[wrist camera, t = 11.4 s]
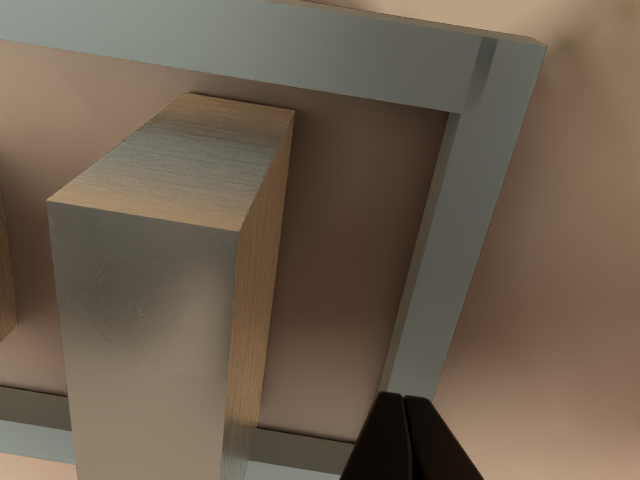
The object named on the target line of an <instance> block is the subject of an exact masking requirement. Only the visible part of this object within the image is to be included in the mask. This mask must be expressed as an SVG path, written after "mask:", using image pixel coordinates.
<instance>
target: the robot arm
mask: <svg viewBox="0 0 640 480" xmlns="http://www.w3.org/2000/svg"><path fill="white" fill-rule="evenodd" d="M339 480H484V478H483V477H482V475H481V474H480V473H479V471H478V470H477V468H476V467H475V465H474V464H473V462H472V461H471V459H470V458H469V457H468V455H467V454H466V452H465V451H464V449H463V448H462V446H461V445H460V443H459V442H458V441H457V439H456V438H455V436H454V435H453V433H452V432H451V430H450V429H449V427H448V426H447V425H446V423H445V422H444V420H443V419H442V417H441V416H440V414H439V413H438V411H437V410H436V409H435V407H434V406H433V404H432V403H431V401H430V400H429V399H427V398H425V397H419V396H413V395H405V396H404V397H403V396H402V395H401V394H399V393H393V392H387V391H379V392H378V394H377V396H376V398H375V400H374V402H373V404H372V407H371V409H370V411H369V413H368V416H367V418H366V420H365V422H364V425H363V427H362V429H361V431H360V434H359V436H358V438H357V440H356V443H355V445H354V447H353V449H352V452H351V454H350V456H349V458H348V461H347V463H346V465H345V467H344V470H343V472H342V474H341V476H340V479H339Z"/></svg>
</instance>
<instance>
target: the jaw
mask: <svg viewBox="0 0 640 480" xmlns="http://www.w3.org/2000/svg"><path fill="white" fill-rule="evenodd" d="M294 117H295V110H290V109H283V108H277V107H271V106H265V105H259V104H252V103H246V102H240V101H234V100H227V99H221V98H215V97H209V96H203V95H196V94H190V93H185V94H184V95H182V96H181V97H180V98H179V99H177V100H176V101H175V102H173V103H172V104H171V105H169V106H168V107H167V108H165V109H164V110H163V111H162V112H160V113H159V114H158V115H156V116H155V117H154V118H152V119H151V120H150V121H148V122H147V123H146V124H145V125H143V126H142V127H141V128H139V129H138V130H137V131H135V132H134V133H133V134H132V135H130V136H129V137H128V138H126V139H125V140H124V141H122V142H121V143H120V144H118V145H117V146H116V147H115V148H113V149H112V150H111V151H109V152H108V153H107V154H105V155H104V156H103V157H101V158H100V159H99V160H98V161H96V162H95V163H94V164H92V165H91V166H90V167H88V168H87V169H86V170H85V171H83V172H82V173H81V174H79V175H78V176H77V177H75V178H74V179H73V180H71V181H70V182H69V183H68V184H66V185H65V186H64V187H62V188H61V189H60V190H58V191H57V192H56V193H55V194H53V195H52V196H51V197H49V198H48V199H47V200H46V209H47V217H48V226H49V235H50V244H51V252H52V261H53V270H54V278H55V287H56V296H57V304H58V313H59V322H60V330H61V339H62V348H63V357H64V365H65V374H66V383H67V391H68V400H69V409H70V417H71V426H72V435H73V443H74V452H75V461H76V469H77V478H78V480H244V478H245V474H246V470H247V465H248V461H249V457H250V453H251V448H252V444H253V440H254V436H255V432H256V427H257V423H258V419H259V411H260V403H261V395H262V386H263V378H264V369H265V361H266V352H267V344H268V336H269V327H270V319H271V310H272V302H273V294H274V285H275V277H276V268H277V260H278V251H279V243H280V235H281V226H282V218H283V209H284V201H285V193H286V184H287V176H288V167H289V159H290V150H291V142H292V134H293V125H294Z"/></svg>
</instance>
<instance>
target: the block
mask: <svg viewBox="0 0 640 480" xmlns="http://www.w3.org/2000/svg"><path fill="white" fill-rule="evenodd" d="M18 324H19V319H18V311H17V304H16V296H15V289H14V281H13V274H12V266H11V258H10V251H9V243H8V236H7V228H6V221H5V213H4V205H3V198H2V190H1V183H0V343H1V342H2V341H3V340H4V339H5V338H6V336H7V335H8V334H9V333H10V332H11V331H12V330H13V329H14V328H15V327H16V326H17V325H18Z"/></svg>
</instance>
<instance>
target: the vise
mask: <svg viewBox="0 0 640 480" xmlns="http://www.w3.org/2000/svg"><path fill="white" fill-rule="evenodd" d="M0 40H6V41H12V42H19V43H25V44H31V45H37V46H44V47H50V48H56V49H62V50H68V51H75V52H81V53H87V54H93V55H100V56H106V57H112V58H118V59H124V60H131V61H137V62H143V63H149V64H155V65H162V66H168V67H174V68H180V69H187V70H193V71H199V72H205V73H211V74H218V75H224V76H230V77H236V78H242V79H249V80H255V81H261V82H267V83H274V84H280V85H286V86H292V87H298V88H305V89H311V90H317V91H323V92H330V93H336V94H342V95H348V96H354V97H361V98H367V99H373V100H379V101H385V102H392V103H398V104H404V105H410V106H417V107H423V108H429V109H435V110H441V111H448V112H449V116H448V120H447V124H446V128H445V132H444V135H443V139H442V143H441V147H440V151H439V155H438V159H437V163H436V166H435V170H434V174H433V178H432V182H431V186H430V190H429V194H428V197H427V201H426V205H425V209H424V213H423V217H422V221H421V225H420V228H419V232H418V236H417V240H416V244H415V248H414V252H413V256H412V259H411V263H410V267H409V271H408V275H407V279H406V283H405V287H404V290H403V294H402V298H401V302H400V306H399V310H398V314H397V318H396V321H395V325H394V329H393V333H392V337H391V341H390V345H389V349H388V352H387V356H386V360H385V364H384V368H383V372H382V376H381V380H380V384H379V387H378V391H377V394H378V392H379V391H387V392H393V393H399V394H401V395H402V396H403V397H404V396H405V395H413V396H419V397H425V398H427V399H429V400H430V401H431V402H432V399H433V396H434V393H435V390H436V386H437V383H438V380H439V377H440V374H441V371H442V368H443V365H444V362H445V359H446V356H447V353H448V350H449V347H450V344H451V341H452V338H453V335H454V331H455V328H456V325H457V322H458V319H459V316H460V313H461V310H462V307H463V304H464V301H465V298H466V295H467V292H468V289H469V286H470V283H471V279H472V276H473V273H474V270H475V267H476V264H477V261H478V258H479V255H480V252H481V249H482V246H483V243H484V240H485V237H486V234H487V231H488V228H489V224H490V221H491V218H492V215H493V212H494V209H495V206H496V203H497V200H498V197H499V194H500V191H501V188H502V185H503V182H504V179H505V176H506V172H507V169H508V166H509V163H510V160H511V157H512V154H513V151H514V148H515V145H516V142H517V139H518V136H519V133H520V130H521V127H522V124H523V121H524V117H525V114H526V111H527V108H528V105H529V102H530V99H531V96H532V93H533V90H534V87H535V84H536V81H537V78H538V75H539V72H540V69H541V65H542V62H543V59H544V56H545V53H546V50H547V47H548V46H546V45H544V44H542V43H540V42H538V41H536V40H535V39H533V38H531V37H526V36H519V35H513V34H507V33H501V32H493V31H488V30H482V29H476V28H469V27H463V26H457V25H451V24H444V23H438V22H432V21H425V20H419V19H413V18H407V17H401V16H394V15H388V14H382V13H376V12H369V11H363V10H357V9H351V8H344V7H338V6H332V5H326V4H320V3H313V2H307V1H301V0H0ZM376 396H377V395H376ZM354 445H355V444H349V443H343V442H337V441H331V440H325V439H319V438H313V437H307V436H301V435H294V434H288V433H282V432H276V431H270V430H264V429H258V428H256V432H255V436H254V440H253V444H252V448H251V453H250V457H249V461H248V465H247V470H246V474H245V478H244V480H339V479H340V476H341V474H342V472H343V470H344V467H345V465H346V463H347V461H348V458H349V456H350V454H351V452H352V449H353V447H354ZM0 452H2V453H8V454H14V455H20V456H26V457H32V458H38V459H44V460H50V461H56V462H62V463H69V464H75V465H76V461H75V452H74V443H73V435H72V426H71V417H70V409H69V400H68V397H62V396H56V395H50V394H44V393H38V392H32V391H25V390H19V389H13V388H7V387H1V386H0Z"/></svg>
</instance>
